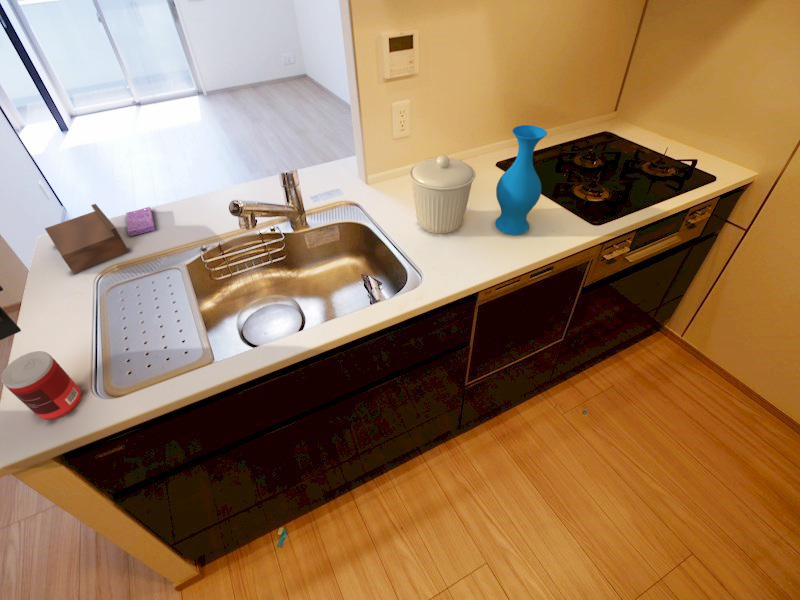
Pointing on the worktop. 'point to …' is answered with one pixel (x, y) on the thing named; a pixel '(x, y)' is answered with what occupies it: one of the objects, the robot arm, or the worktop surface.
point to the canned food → (42, 385)
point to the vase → (519, 183)
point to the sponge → (140, 221)
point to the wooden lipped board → (87, 240)
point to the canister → (441, 192)
